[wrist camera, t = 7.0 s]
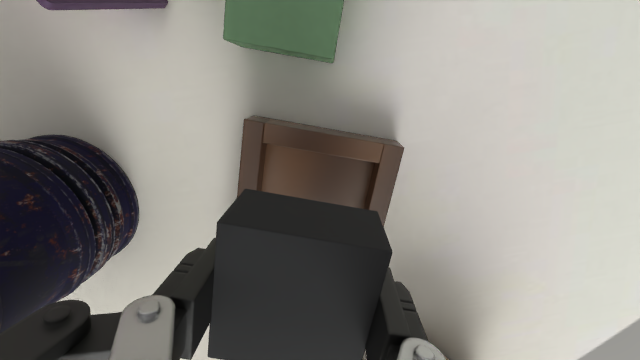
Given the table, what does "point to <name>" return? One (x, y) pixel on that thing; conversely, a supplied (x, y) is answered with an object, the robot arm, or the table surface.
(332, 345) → the charcoal pad
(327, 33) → the sage pad
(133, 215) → the navy oil drum
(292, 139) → the divided wooden tray
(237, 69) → the table surface
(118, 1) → the game card
